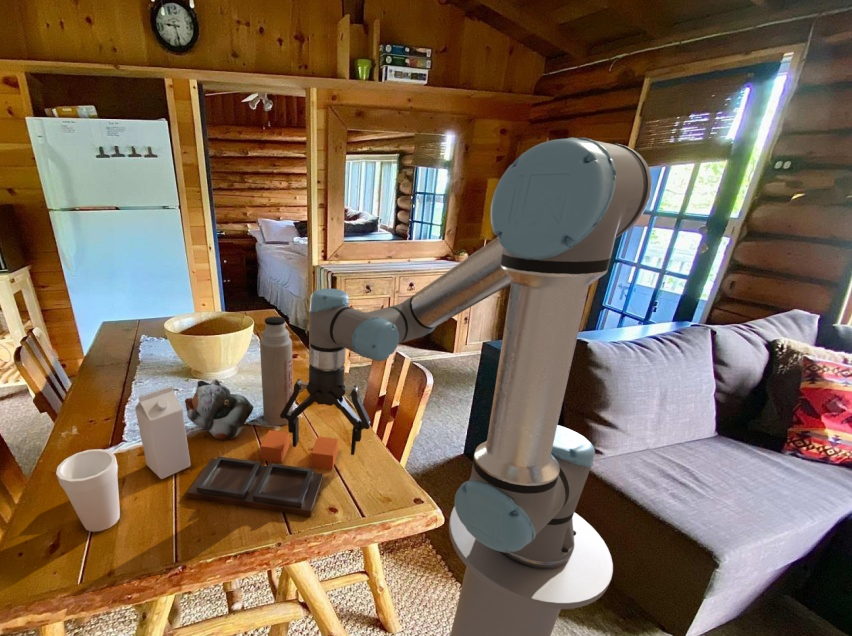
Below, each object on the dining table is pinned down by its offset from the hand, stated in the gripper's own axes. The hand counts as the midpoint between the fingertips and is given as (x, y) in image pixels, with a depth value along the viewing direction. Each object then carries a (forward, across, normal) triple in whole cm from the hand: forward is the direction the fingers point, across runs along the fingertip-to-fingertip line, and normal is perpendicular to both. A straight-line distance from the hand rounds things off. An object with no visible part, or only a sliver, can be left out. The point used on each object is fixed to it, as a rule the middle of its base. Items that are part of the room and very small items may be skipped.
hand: (324, 447), depth 102 cm
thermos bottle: (+4, +16, -16) cm, 23 cm away
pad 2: (+3, 0, 0) cm, 3 cm away
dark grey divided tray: (+3, +12, +13) cm, 18 cm away
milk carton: (+4, +34, +10) cm, 35 cm away
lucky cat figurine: (+4, +29, -8) cm, 30 cm away
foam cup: (+4, +38, +28) cm, 47 cm away
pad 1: (+3, +12, 0) cm, 12 cm away
